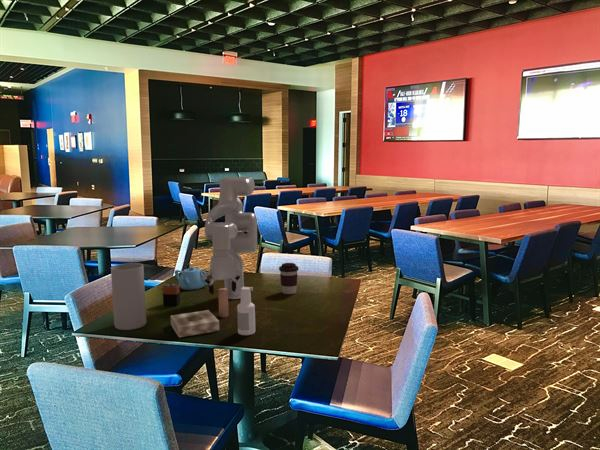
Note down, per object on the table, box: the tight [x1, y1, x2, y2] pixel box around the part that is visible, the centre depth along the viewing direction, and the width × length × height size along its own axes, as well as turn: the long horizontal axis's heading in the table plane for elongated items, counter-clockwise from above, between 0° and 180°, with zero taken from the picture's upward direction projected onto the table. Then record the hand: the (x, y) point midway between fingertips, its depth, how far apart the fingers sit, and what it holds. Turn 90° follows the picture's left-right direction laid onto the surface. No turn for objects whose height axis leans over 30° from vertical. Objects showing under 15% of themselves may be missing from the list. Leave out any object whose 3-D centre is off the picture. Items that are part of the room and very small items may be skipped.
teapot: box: [174, 265, 209, 291], centre depth 257 cm, size 15×17×11 cm
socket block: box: [170, 309, 220, 338], centre depth 193 cm, size 16×16×4 cm
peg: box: [218, 287, 229, 318], centre depth 207 cm, size 4×4×12 cm
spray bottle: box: [236, 286, 256, 336], centre depth 186 cm, size 7×7×18 cm
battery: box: [162, 283, 181, 307], centre depth 225 cm, size 4×7×10 cm, turn 81°
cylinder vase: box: [110, 262, 147, 331], centre depth 195 cm, size 12×12×25 cm
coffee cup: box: [278, 262, 299, 295], centre depth 243 cm, size 10×10×15 cm
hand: (222, 292), depth 206 cm, fingers open, 9 cm apart
